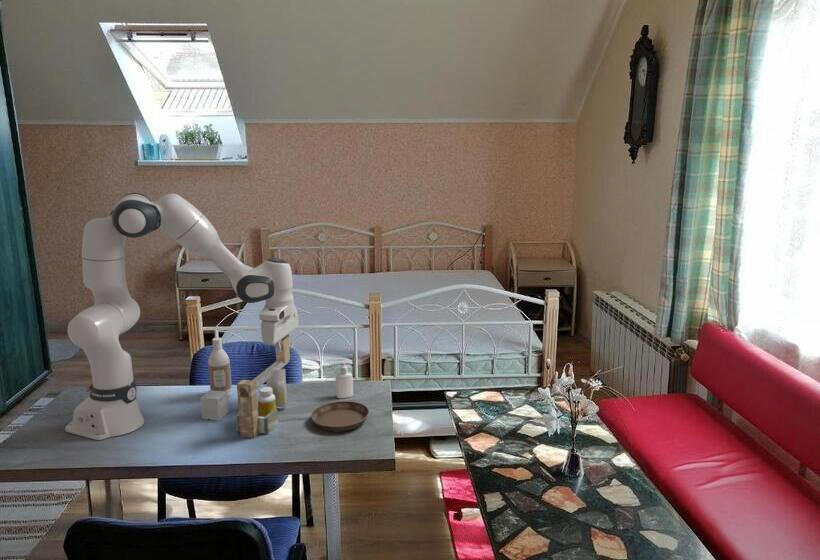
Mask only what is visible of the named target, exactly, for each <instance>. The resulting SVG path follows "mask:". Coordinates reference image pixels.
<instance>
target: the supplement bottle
mask: <svg viewBox="0 0 820 560" xmlns="http://www.w3.org/2000/svg"><path fill="white" fill-rule="evenodd" d="M258 389H259V392H258V394H259V395H257V408H258V416H261V417H266V416H267V415H268V414H269V413H270V412H271V411H272V410H273V409H277V407H276V401H275V395H274V394H272V393H273V391H272V388H271V387H267V386H263V387H259V388H258Z"/></svg>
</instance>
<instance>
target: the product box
mask: <svg viewBox="0 0 820 560" xmlns="http://www.w3.org/2000/svg"><path fill="white" fill-rule="evenodd" d="M200 408H201V409H200V410H201V419H202V420H208V419H210V421H221V420H222V419H223V418H224V417H225V416H227V413H228V414H229V402H228V396H227V392H226V391H212V390H211V389H209V391H207V392H206V393H204V394H203V395H201V396H200ZM223 416H224V417H223ZM222 417H223V418H222Z"/></svg>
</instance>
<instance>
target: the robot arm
mask: <svg viewBox="0 0 820 560" xmlns="http://www.w3.org/2000/svg"><path fill="white" fill-rule="evenodd" d="M158 229H162V230H163V231H165V233H166V234H168V235H169V236H170V237H171V238H172V239H173V240H174V241H175V242H176V243H177V244H178V245H180V246H181V247H182V248H184V249H185V250H186V251H188V252H190V253H191V254H193V255H195V256H202V257H205V258H206V259H208V260H209V261H211V262H212V264H214V265H215V266H216V268H218V269H219V270H220V271H221V272H223V274H224V275H225V276H226V277H227V279H228V282H229V284H230V287H231V288H232V290H233V291H234V292H235V294H236V295H237V297H238V298H239V299H240V300H241V301H243V302H244V303H248V304H254V303H260V302H263V301H265V304H264V306H263V309H261V312H260V313H259V315H258V316H259V320H260V321H261V322H260V333H261V341H262V343H263V344H264V345H265V346H266V345H268V346H274V351H275V354H276V353H280V352H281V351H282V346H281V345H280V342H281V339H282V338H284V337H285V336H289V341H290V340H291V336H292V334H291V333H292V332H293V331H295V330H296V329H298V328H299V320H300V319H299V313H298V309H297V307H296V305H295V299H294V295H293V287H294V282H293V280H294V279H293V273H292V267H291V265H290V263H289V262H288V261H286V260H284V259H281V258H277V257H276V258H275V257H271V258H266V259H265V260H264V261H262V263H261V264H259V265H257V266H253V265H251V264H248V263H245V262H243V261H241V260H240V259H239V258H238V257H237V256H235V254H233V253H232V252H231V251H230V249H228V248H227V247H226V246H225V245H224V243H223V242H222V240H221V239H220V236H219V234H218V233H219V232H218V231H217V229H216V228H215V227H214V225H213V224H212V223H211V221H210V220H209V219H208V218H207V217H206V216H205V215H204V214H203V213H202V212H201V211H200V210H199V209H198V208H197V207H195V206H194V205H193V204H192V203H191V202H189V201H188V200H187V199H185V198H183V197H182V195H180V194H177V193H168V194H165V195H163V196H162V197H160V198H159V199H158V200H156V201H152V200H151V199H150V198H149V197H148V196H146V195H144V194H142V193H138V192H130V193H126V194H124V195H123V196H122V197H121V198H119V200H118V201H116V203H115V204H114V206H113V209H112V210H111V211H110V214H109V216H108V217H106V216H105V217H97V218H93V219H91V220H89V221H87V223H86V224H85V226H84V229H83V236H82V242H81V243H82V244H81V261H82V262H81V263H82V265H81V266H82V281H83V285H84V286H85V287H86V288H87V289H89V290H91V292H92V295H93V299H94V303H93V305H92V306H90V307H88V308H85V309H83V310H81V311H80V312H78V314H76V315H75V316H74V317H73V318H71V320H70V321H69V323H68V326H67V335H68V338H69V339H70V341H71V342H72V343H73V344H74V345H75V346H77V347H79V348H81V349H82V350H83V352H84V354H85V355H86V358H87V360H88V362H89V367H90V372H91V379H92V384H90V385H89V386H88V387H86V388H85V390H86V391H85V392H86V393H88V392H89V391H90V392H89V396H88V397H87V398H85V399H84V400H83V401H82V402H81V403H79V405H77V406H76V407H75V408H74V410H73V412H72V413H73V414H72V420H71V421H70V422H69V423H67V425H66V426H65V431H64V432H67V433H69V434H73V435H77V436H79V437H80V436H81V437H84V438H88V439H90V440H91V439H92V440H95V441H101V440H104V439H109V438H112V437H113V438H114V437H118V436H122V435H127V434H129V433H132V432H134V431H137V430H138V429H140V428H141V427H142V426H143V425H144V424H145V418H144V416H143V414H142V412H141V408H140V404H139V401H138V398H137V391H138V390H137V384H136V383H137V382H136V379H135V378H134V371H133V363H132V362H133V361H132V356H131V354H130V353H129V352H127V351H126V350H124V349H123V348H122V345H121V343H120V340H119V337H120V335H122V334H125V332H128V331H129V330H131V328H133V327H134V325H136V323H137V322H138V321H139V319H140V317H141V308H140V306H139V304H138V302H137V301H136V300H135V299H134V298H132V296H131V295H130V292H129V288H128V284H127V279H126V277H127V275H126V274H127V273H126V253H125V252H126V251H125V247H126V246H125V245H126V240H127V238H131V239H135V238H141V237H144V236H146V235H149V234H150V233H153V232H154V231H157V230H158Z"/></svg>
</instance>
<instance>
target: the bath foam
mask: <svg viewBox="0 0 820 560" xmlns="http://www.w3.org/2000/svg"><path fill="white" fill-rule="evenodd" d="M212 348H213V350H212V351H211V352H210V354H209V357H208V360H207V362H208V363H207V367H208V376H209V377H208V378H209V388H210V389H209V390H212V391H226V392H227V397H230V396H231V395H232V393H233V388H232V374H231V363H230V357H229V355H228V354H227V352H226V351H225V350H224V349H223V341H222V337H213V338H212Z"/></svg>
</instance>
